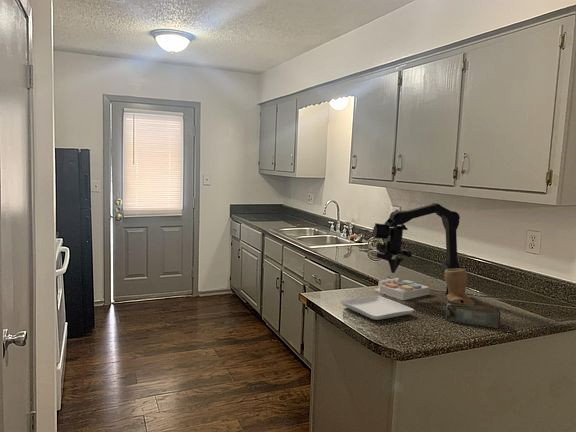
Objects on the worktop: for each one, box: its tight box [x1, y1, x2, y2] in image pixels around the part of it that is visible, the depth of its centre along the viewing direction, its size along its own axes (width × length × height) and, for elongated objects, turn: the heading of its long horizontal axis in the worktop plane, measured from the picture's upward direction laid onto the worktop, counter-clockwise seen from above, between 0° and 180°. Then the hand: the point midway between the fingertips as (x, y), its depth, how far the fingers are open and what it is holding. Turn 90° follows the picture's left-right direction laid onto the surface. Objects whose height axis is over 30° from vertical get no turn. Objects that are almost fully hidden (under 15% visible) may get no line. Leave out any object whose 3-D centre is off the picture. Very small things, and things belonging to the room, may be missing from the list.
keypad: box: [373, 277, 431, 301], centre depth 214 cm, size 16×20×4 cm
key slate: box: [408, 283, 422, 289], centre depth 212 cm, size 4×4×2 cm
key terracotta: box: [385, 283, 399, 288], centre depth 211 cm, size 4×4×2 cm
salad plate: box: [340, 294, 415, 321], centre depth 182 cm, size 21×21×3 cm
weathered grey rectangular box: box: [445, 301, 501, 329], centre depth 176 cm, size 8×19×7 cm, turn 69°
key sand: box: [400, 285, 414, 291], centre depth 208 cm, size 4×4×2 cm
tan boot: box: [443, 268, 475, 305], centre depth 202 cm, size 15×12×15 cm
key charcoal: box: [393, 280, 407, 286], centre depth 214 cm, size 4×4×2 cm
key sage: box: [400, 279, 416, 285], centre depth 218 cm, size 4×4×2 cm
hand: (393, 272), depth 210 cm, fingers closed
